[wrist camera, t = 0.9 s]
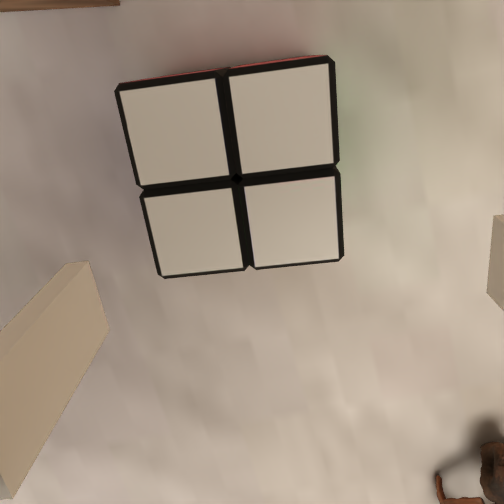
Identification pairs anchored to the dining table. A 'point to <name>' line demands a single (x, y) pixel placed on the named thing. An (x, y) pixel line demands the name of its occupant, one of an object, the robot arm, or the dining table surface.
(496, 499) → the pottery mug
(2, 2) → the walnut box
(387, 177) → the dining table surface
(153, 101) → the puzzle cube
